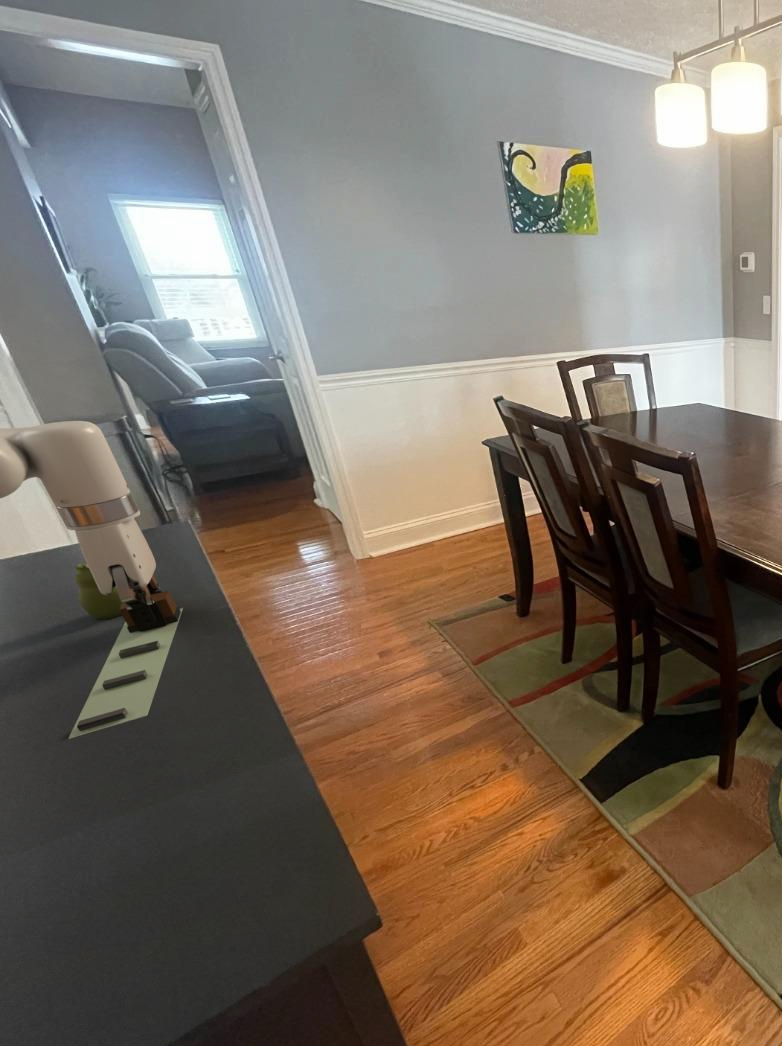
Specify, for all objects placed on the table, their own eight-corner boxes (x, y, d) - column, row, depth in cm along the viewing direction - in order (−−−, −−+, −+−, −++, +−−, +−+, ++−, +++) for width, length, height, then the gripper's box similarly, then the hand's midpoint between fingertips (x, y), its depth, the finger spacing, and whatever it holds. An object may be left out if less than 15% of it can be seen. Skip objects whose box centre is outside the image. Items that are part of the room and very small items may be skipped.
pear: (86, 629, 92) (54, 572, 88) (101, 614, 96) (71, 558, 92) (134, 620, 94) (104, 563, 90) (146, 605, 98) (118, 551, 94)
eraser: (129, 633, 89) (117, 610, 87) (134, 623, 91) (122, 600, 90) (178, 621, 92) (167, 598, 90) (181, 612, 94) (170, 589, 93)
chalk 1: (120, 658, 83) (118, 653, 82) (122, 654, 84) (119, 650, 83) (159, 648, 85) (156, 644, 84) (160, 645, 86) (158, 640, 85)
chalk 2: (104, 690, 76) (101, 685, 76) (106, 685, 77) (103, 680, 77) (146, 678, 78) (143, 674, 78) (148, 674, 79) (145, 669, 79)
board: (71, 745, 69) (67, 738, 68) (128, 626, 92) (125, 621, 92) (150, 721, 72) (147, 715, 72) (185, 613, 96) (182, 607, 96)
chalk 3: (79, 731, 69) (76, 726, 69) (82, 725, 70) (78, 720, 70) (126, 717, 71) (123, 712, 71) (128, 712, 72) (125, 707, 72)
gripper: (77, 500, 88) (133, 607, 96) (44, 535, 76) (110, 655, 83) (145, 490, 92) (193, 594, 100) (124, 522, 80) (181, 637, 87)
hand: (155, 620), depth 91 cm, fingers closed on eraser, 3 cm apart
